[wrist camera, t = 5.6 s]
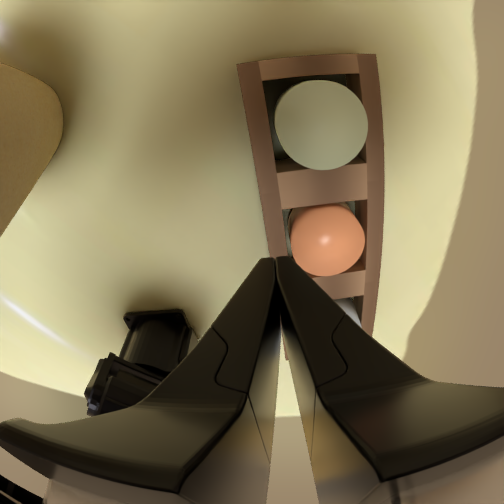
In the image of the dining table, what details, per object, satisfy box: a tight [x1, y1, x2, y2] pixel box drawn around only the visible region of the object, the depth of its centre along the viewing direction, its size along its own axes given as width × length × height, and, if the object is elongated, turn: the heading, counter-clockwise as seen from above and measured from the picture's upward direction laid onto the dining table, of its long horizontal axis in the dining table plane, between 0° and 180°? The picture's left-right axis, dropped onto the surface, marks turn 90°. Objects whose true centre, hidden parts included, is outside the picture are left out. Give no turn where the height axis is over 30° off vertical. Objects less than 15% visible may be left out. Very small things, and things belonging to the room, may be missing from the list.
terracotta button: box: [288, 202, 365, 276], centre depth 21 cm, size 5×5×3 cm
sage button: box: [273, 80, 368, 170], centre depth 16 cm, size 5×5×3 cm
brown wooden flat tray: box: [237, 54, 384, 360], centre depth 21 cm, size 8×24×3 cm, turn 10°
